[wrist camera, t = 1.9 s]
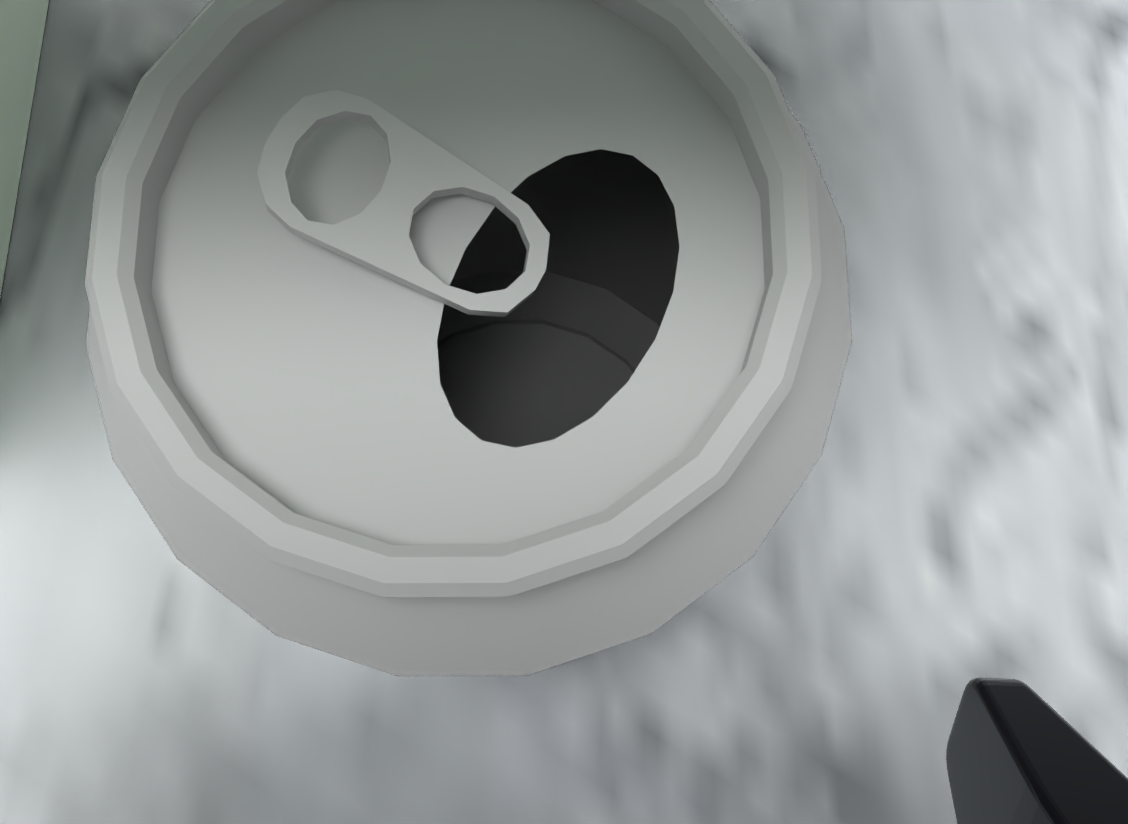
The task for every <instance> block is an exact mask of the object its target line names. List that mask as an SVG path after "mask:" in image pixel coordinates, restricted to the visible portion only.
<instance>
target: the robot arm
mask: <svg viewBox="0 0 1128 824" xmlns="http://www.w3.org/2000/svg"><path fill="white" fill-rule="evenodd" d="M946 760H947V770H948V776H949V782H950V787H951V792H952V798H953V803H954V809H955V814H956V819H957V824H1128V778H1127V777H1126V776H1125V775H1124V774H1122V773H1121V772H1120V771H1119V770H1118V769H1117V768H1116V767H1115V766H1114V765H1113V764H1112V763H1111V762H1110V761H1109V760H1107V759H1106V758H1105V757H1104V756H1103V755H1102V754H1101V753H1100V752H1099V751H1098V750H1097V749H1096V748H1095V747H1093V746H1092V745H1091V744H1090V743H1089V742H1088V741H1087V740H1086V739H1085V738H1084V737H1083V736H1082V735H1081V734H1079V733H1078V732H1077V731H1076V730H1075V729H1074V728H1073V727H1072V726H1071V725H1070V724H1069V723H1068V722H1067V721H1065V720H1064V719H1063V718H1062V717H1061V716H1060V715H1059V714H1058V713H1057V712H1056V711H1055V710H1054V709H1053V708H1051V707H1050V706H1049V705H1048V704H1047V703H1046V702H1045V701H1044V700H1043V699H1042V698H1041V697H1040V696H1039V695H1038V694H1036V693H1035V692H1034V691H1033V690H1032V689H1031V688H1030V687H1029V686H1027V685H1026V684H1025V683H1023V682H1021V681H1019V680H1016V679H1000V678H975V679H972V680H971V681H970V682H969V683H968V684H967V686H966V688H965V690H964V693H963V696H962V699H961V702H960V705H959V708H958V711H957V714H956V718H955V721H954V724H953V727H952V730H951V733H950V736H949V740H948V744H947V755H946Z"/></svg>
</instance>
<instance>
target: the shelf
mask: <svg viewBox="0 0 1128 824" xmlns="http://www.w3.org/2000/svg"><path fill="white" fill-rule="evenodd" d="M48 4H49V0H0V297H1V291H2V284H3V278H4V272H5V266H6V260H7V254H8V248H9V242H10V236H11V230H12V223H13V217H14V211H15V205H16V199H17V193H18V187H19V181H20V175H21V169H22V162H23V156H24V150H25V144H26V138H27V132H28V126H29V120H30V114H31V108H32V101H33V95H34V89H35V83H36V77H37V71H38V65H39V59H40V53H41V47H42V40H43V34H44V28H45V22H46V16H47V10H48Z"/></svg>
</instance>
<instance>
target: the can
mask: <svg viewBox="0 0 1128 824" xmlns="http://www.w3.org/2000/svg"><path fill="white" fill-rule="evenodd" d="M85 288H86V292H87V296H88V300H89V305H90V310H89V319H88V329H87V339H86V348H87V353H88V357H89V361H90V365H91V370H92V374H93V378H94V382H95V387H96V391H97V395H98V399H99V404H100V408H101V412H102V416H103V420H104V425H105V429H106V433H107V437H108V442H109V446H110V450H111V454H112V459H113V460H114V462H115V463H116V465H117V466H118V468H119V470H120V471H121V473H122V474H123V476H124V477H125V479H126V480H127V482H128V483H129V485H130V487H131V488H132V490H133V491H134V493H135V494H136V496H137V497H138V499H139V501H140V502H141V504H142V505H143V507H144V508H145V510H146V511H147V513H148V514H149V516H150V518H151V519H152V521H153V522H154V524H155V525H156V527H157V528H158V530H159V532H160V533H161V535H162V536H163V538H164V539H165V541H166V542H167V544H168V545H169V547H170V549H171V550H172V552H173V553H174V555H175V556H176V558H177V559H178V560H179V561H180V562H181V563H183V564H184V565H185V566H187V567H188V568H189V569H191V570H192V571H193V572H194V573H196V574H197V575H198V576H200V577H201V578H202V579H203V580H205V581H206V582H207V583H209V584H210V585H211V586H213V587H214V588H215V589H216V590H218V591H219V592H220V593H222V594H223V595H224V596H226V597H227V598H228V599H229V600H231V601H232V602H233V603H235V604H236V605H237V606H238V607H240V608H241V609H242V610H244V611H245V612H246V613H248V614H249V615H250V616H251V617H253V618H254V619H255V620H257V621H258V622H259V623H261V624H262V625H263V626H264V627H266V628H267V629H268V630H270V631H271V632H272V633H273V634H275V635H276V636H279V637H282V638H285V639H288V640H291V641H294V642H297V643H300V644H303V645H306V646H309V647H312V648H315V649H318V650H321V651H324V652H327V653H330V654H333V655H336V656H339V657H342V658H345V659H348V660H351V661H354V662H357V663H360V664H363V665H366V666H369V667H372V668H375V669H378V670H381V671H384V672H387V673H390V674H393V675H396V676H528V675H531V674H534V673H537V672H540V671H543V670H546V669H549V668H552V667H555V666H557V665H560V664H563V663H566V662H569V661H572V660H575V659H578V658H581V657H584V656H587V655H590V654H593V653H596V652H599V651H602V650H605V649H608V648H611V647H614V646H617V645H620V644H623V643H625V642H628V641H631V640H634V639H637V638H640V637H643V636H646V635H649V634H651V633H653V632H654V631H655V630H657V629H658V628H659V627H661V626H662V625H663V624H665V623H666V622H667V621H669V620H670V619H671V618H673V617H674V616H675V615H677V614H678V613H679V612H681V611H682V610H683V609H684V608H686V607H687V606H688V605H690V604H691V603H692V602H694V601H695V600H696V599H698V598H699V597H700V596H702V595H703V594H704V593H706V592H707V591H708V590H710V589H711V588H712V587H713V586H715V585H716V584H717V583H719V582H720V581H721V580H723V579H724V578H725V577H727V576H728V575H729V574H731V573H732V572H733V571H735V570H736V569H737V568H739V567H740V566H741V565H742V564H744V563H745V562H746V561H748V560H749V559H750V558H752V557H753V555H754V554H755V552H756V551H757V549H758V548H759V547H760V545H761V544H762V542H763V541H764V539H765V538H766V536H767V535H768V533H769V532H770V530H771V529H772V527H773V526H774V524H775V523H776V521H777V520H778V518H779V517H780V516H781V514H782V513H783V511H784V510H785V508H786V507H787V505H788V504H789V502H790V501H791V499H792V498H793V496H794V495H795V493H796V492H797V490H798V489H799V487H800V486H801V484H802V483H803V482H804V480H805V479H806V477H807V476H808V474H809V473H810V471H811V470H812V468H813V467H814V465H815V464H816V462H817V461H818V459H819V458H820V456H821V454H822V451H823V447H824V443H825V440H826V436H827V432H828V428H829V425H830V421H831V417H832V414H833V410H834V406H835V403H836V399H837V395H838V391H839V388H840V384H841V380H842V377H843V373H844V369H845V366H846V362H847V358H848V354H849V351H850V347H851V343H852V334H851V320H850V305H849V291H848V276H847V262H846V247H845V232H844V226H843V224H842V222H841V219H840V217H839V214H838V212H837V210H836V207H835V205H834V202H833V200H832V198H831V195H830V193H829V190H828V188H827V186H826V183H825V181H824V178H823V176H822V174H821V171H820V169H819V166H818V164H817V162H816V159H815V157H814V155H813V152H812V150H811V147H810V145H809V143H808V140H807V138H806V135H805V133H804V131H803V128H802V126H801V124H800V123H799V122H798V121H797V120H796V119H795V117H794V116H793V115H792V114H791V113H790V111H789V109H788V106H787V104H786V101H785V99H784V97H783V94H782V92H781V89H780V87H779V85H778V82H777V80H776V77H775V75H774V74H773V73H772V72H771V70H770V69H769V68H768V67H767V66H766V65H765V64H764V62H763V61H762V60H761V59H760V58H759V57H758V55H757V54H756V53H755V52H754V51H753V50H752V49H751V47H750V46H749V45H748V44H747V43H746V42H745V40H744V39H743V38H742V37H741V36H740V35H739V34H738V32H737V31H736V30H735V29H734V28H733V27H732V25H731V24H730V23H729V22H728V21H727V20H726V18H725V17H724V16H723V15H722V14H721V13H720V12H719V10H718V9H717V8H716V7H715V6H714V5H713V3H712V2H711V1H710V0H211V1H210V2H209V3H208V4H207V5H206V6H205V8H204V9H203V10H202V11H201V12H200V13H199V14H198V15H197V16H196V18H195V19H194V20H193V21H192V22H191V23H190V24H189V25H188V27H187V28H186V29H185V30H184V31H183V32H182V33H181V34H180V35H179V37H178V38H177V39H176V40H175V41H174V42H173V43H172V44H171V45H170V47H169V48H168V49H167V50H166V51H165V52H164V53H163V54H162V56H161V57H160V58H159V59H158V60H157V61H156V62H155V63H154V64H153V66H152V67H151V68H150V69H149V70H148V71H147V72H146V73H145V74H144V76H143V77H142V78H141V79H140V81H139V83H138V86H137V88H136V90H135V92H134V94H133V97H132V99H131V101H130V103H129V105H128V107H127V110H126V112H125V114H124V116H123V118H122V121H121V123H120V125H119V127H118V129H117V132H116V134H115V136H114V138H113V140H112V143H111V145H110V147H109V149H108V151H107V154H106V156H105V158H104V160H103V162H102V165H101V167H100V169H99V171H98V173H97V176H96V181H95V191H94V200H93V210H92V219H91V229H90V238H89V248H88V258H87V267H86V277H85Z"/></svg>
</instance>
